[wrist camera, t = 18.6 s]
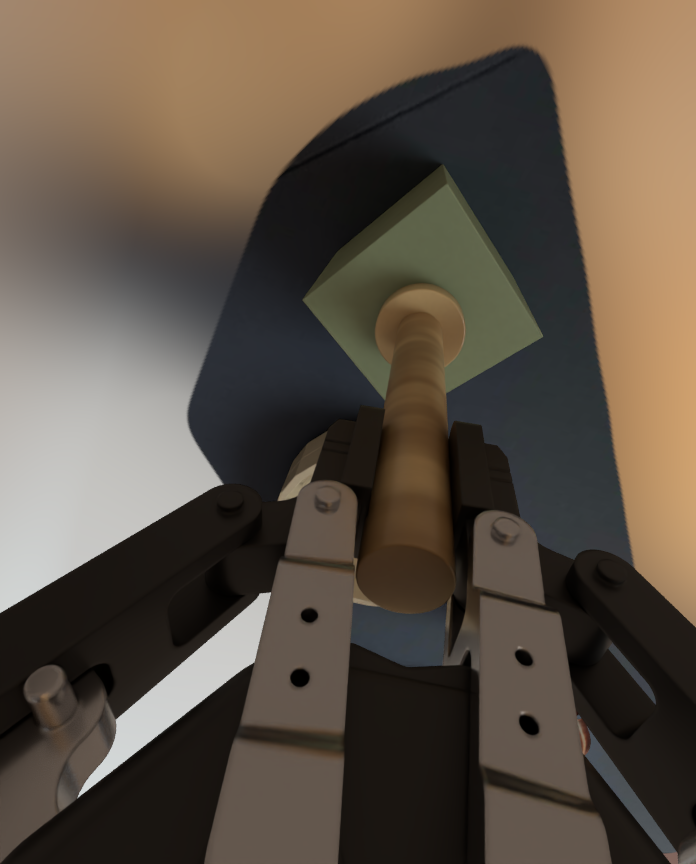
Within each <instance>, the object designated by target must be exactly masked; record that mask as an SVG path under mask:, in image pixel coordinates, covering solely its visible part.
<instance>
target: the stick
mask: <svg viewBox="0 0 696 864" xmlns="http://www.w3.org/2000/svg"><path fill="white" fill-rule="evenodd" d="M465 335H466V326H465V320H464V315H463V311H462V309H461V306H460V305H459V303H458V301H457V300H456V299H455V298H454V296H453V295H451V294H450V293H449V292H448V291H446V290H445V289H443V288H441V287H439V286H436V285H433V284H427V283H417V284H411V285H408V286H405V287H402V288H400V289H398V290H397V291H395V292H394V293H393V294H392V295H390V296H389V297H388V298H387V300H386V301H385V302H384V304H383V305H382V307H381V309H380V311H379V314H378V317H377V321H376V325H375V340H376V344H377V347H378V349H379V351H380V353H381V355H382V356H383V358H384V359H385V360H386V361H387V362H388V363H389V364H390V365H391V369H390V375H389V381H388V387H387V393H386V398H385V404H384V409H385V415H384V421H383V427H382V433H381V439H380V445H379V451H378V457H377V463H376V469H375V476H374V482H373V488H372V493H371V499H370V505H369V511H368V516H367V517H366V519H365V522H364V526H363V531H362V537H361V543H360V548H359V554H358V560H357V566H356V573H355V576H356V581H357V584H358V587H359V589H360V590H361V592H362V593H363V594H364V595H365V596H366V597H367V598H368V599H369V600H370V601H371V602H373V603H374V604H376V605H378V606H380V607H382V608H384V609H387V610H390V611H393V612H398V613H407V614H415V613H423V612H428V611H431V610H434V609H436V608H438V607H440V606H442V605H443V604H444V603H446V602H447V601H448V600H449V599H450V598H451V596H452V594H453V593H454V590H455V587H456V565H455V547H454V532H453V515H452V496H451V478H450V460H449V442H448V422H447V404H446V386H445V368H444V367H446V366H447V365H448V364H450V363H451V362H452V361H453V360H454V359H455V358H456V357H457V355H458V354H459V352H460V351H461V348H462V346H463V344H464V340H465Z"/></svg>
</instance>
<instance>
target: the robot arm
mask: <svg viewBox="0 0 696 864" xmlns="http://www.w3.org/2000/svg"><path fill="white" fill-rule="evenodd" d="M384 415H385V409H382V408H376V407H370V406H364V405H360V409H359V413H358V417H357V420H356V422H355V421H349V420H343V419H339V420H337V421H336V422H335V423H334V424H333V425H331V426H330V427H329V428H328V431H327V434H326V437H325V441H324V443H323V446H322V450H321V452H320V455H319V458H318V461H317V464H316V467H315V470H314V473H313V476H312V479H311V482H310V483H309V484H307V485H305V486H304V487H303V488H302V489H301V490H300V491H299V493H298V496H296V497H294V498H291V499H288V500H282V501H269V502H262V499H261V497H260V495H259V494H258V493H257V492H256V491H255V490H254V489H252V488H250V487H248V486H245V485H241V484H225V485H220V486H217V487H214V488H212V489H210V490H209V491H207V492H205V493H203V494H202V495H200V496H198V497H197V498H195V499H193V500H191V501H190V502H188V503H186V504H185V505H183V506H181V507H180V508H178V509H176V510H175V511H173V512H171V513H169V514H168V515H166V516H164V517H163V518H161V519H159V520H158V521H156V522H154V523H152V524H151V525H149V526H147V527H146V528H144V529H142V530H141V531H139V532H137V533H136V534H134V535H132V536H130V537H129V538H127V539H125V540H124V541H122V542H120V543H118V544H117V545H115V546H113V547H112V548H110V549H108V550H107V551H105V552H103V553H102V554H100V555H98V556H96V557H95V558H93V559H91V560H90V561H88V562H86V563H85V564H83V565H81V566H79V567H78V568H76V569H74V570H73V571H71V572H69V573H68V574H66V575H64V576H63V577H61V578H59V579H57V580H56V581H54V582H52V583H51V584H49V585H47V586H45V587H44V588H42V589H40V590H39V591H37V592H36V593H34V594H32V595H30V596H28V597H27V598H25V599H24V600H22V601H20V602H18V603H17V604H15V605H13V606H12V607H10V608H8V609H7V610H5V611H3V612H1V613H0V864H671V863H670V862H669V861H668V860H667V858H666V857H665V856H664V855H663V853H662V852H661V851H660V849H659V848H658V847H657V846H656V844H655V843H654V842H653V841H652V839H651V838H650V837H649V836H648V834H647V833H646V832H645V831H644V829H643V828H642V827H641V826H640V824H639V823H638V822H637V821H636V819H635V818H634V817H633V816H632V814H631V813H630V812H629V811H628V809H627V808H626V807H625V806H624V804H623V803H622V802H621V801H620V799H619V798H618V797H617V796H616V794H615V793H614V792H613V790H612V789H611V788H610V787H609V785H608V784H607V783H606V782H605V780H604V779H603V778H602V777H601V775H600V774H599V773H598V772H597V770H596V769H595V768H594V767H593V765H592V764H591V763H590V762H589V760H588V759H587V758H586V757H585V755H584V754H583V753H582V746H581V740H580V734H579V727H578V721H577V715H576V711H577V712H578V714H579V715H580V717H581V718H582V719H583V721H584V722H585V724H586V725H587V726H588V728H589V729H590V731H591V732H592V733H593V735H594V736H595V738H596V739H597V740H598V742H599V743H600V745H601V746H602V747H603V749H604V750H605V752H606V753H607V754H608V756H609V757H610V759H611V760H612V761H613V763H614V764H615V766H616V767H617V768H618V770H619V771H620V773H621V774H622V775H623V777H624V778H625V780H626V781H627V782H628V784H629V785H630V787H631V788H632V789H633V791H634V792H635V794H636V795H637V796H638V798H639V799H640V801H641V802H642V803H643V805H644V806H645V808H646V809H647V810H648V812H649V813H650V815H651V816H652V817H653V819H654V820H655V822H656V823H657V825H658V826H659V827H660V829H661V830H662V832H663V833H664V834H665V836H666V837H667V839H668V840H669V841H670V843H671V844H672V846H673V847H674V848H675V850H676V851H677V853H678V864H696V627H695V626H693V624H691V623H690V622H689V621H688V620H687V619H686V618H685V617H684V616H683V615H682V614H681V613H680V612H679V611H678V610H677V609H676V608H675V607H674V606H673V605H672V604H670V602H669V601H667V600H666V599H665V598H664V597H663V596H662V595H661V594H660V593H659V592H658V591H657V590H656V589H655V588H654V587H653V586H652V585H651V584H650V583H649V582H648V581H647V580H646V579H645V578H644V577H643V576H642V575H641V574H639V573H638V572H637V571H636V570H635V569H634V568H633V567H632V566H631V565H630V564H629V563H627V562H626V561H624V560H623V559H621V558H619V557H618V556H615V555H613V554H611V553H608V552H605V551H601V550H585V551H582V552H581V553H579V554H578V555H577V556H576V558H575V560H573V559H571V558H568V557H566V556H563V555H561V554H559V553H556V552H554V551H552V550H550V549H547V548H546V547H544V546H542V545H541V544H539V543H538V542H537V538H536V534H535V532H534V530H533V529H532V528H531V526H530V525H529V524H528V523H527V522H525V521H524V520H523V519H521V518H520V514H519V509H518V505H517V500H516V495H515V491H514V486H513V483H512V477H511V473H510V468H509V463H508V459H507V457H506V456H505V454H504V453H503V452H502V451H501V450H500V448H499V447H498V446H497V445H491V444H485V443H484V438H483V431H482V426H481V425H477V424H471V423H465V422H459V421H454V423H453V425H452V428H451V432H450V436H449V440H448V442H449V460H450V478H451V496H452V515H453V532H454V547H455V565H456V587H455V590H454V593H453V594H452V596H451V598H450V599H449V600H448V601H447V614H446V627H445V641H444V654H443V666H427V667H405V666H402V665H400V664H397V663H395V662H393V661H391V660H389V659H387V658H385V657H382V656H380V655H378V654H376V653H374V652H372V651H369V650H367V649H365V648H363V647H361V646H359V645H356V644H353V643H350V639H351V624H352V608H353V593H354V578H355V565H353V563H354V558H357V559H358V554H359V548H360V543H361V537H362V531H363V526H364V522H365V519H366V517H367V516H368V511H369V505H370V499H371V493H372V488H373V482H374V476H375V469H376V463H377V457H378V451H379V445H380V439H381V433H382V427H383V421H384ZM269 592H271V596H270V600H269V605H268V608H267V613H266V617H265V621H264V625H263V630H262V634H261V638H260V642H259V646H258V651H257V655H256V659H255V663H253V664H251V665H249V666H248V667H246V668H244V669H243V670H242V671H240V672H239V673H238V674H236V675H235V676H234V677H232V678H231V679H230V680H228V681H227V682H226V683H225V684H223V685H222V686H221V687H220V688H218V689H217V690H216V691H215V692H213V693H212V694H210V695H209V696H208V697H207V698H205V699H204V700H203V701H202V702H200V703H199V704H198V705H196V706H195V707H194V708H193V709H191V710H190V711H189V712H187V713H186V714H185V715H184V716H182V717H181V718H180V719H178V720H177V721H176V722H175V723H173V724H172V725H171V726H170V727H168V728H167V729H166V730H164V731H163V732H162V733H161V734H159V735H158V736H157V737H155V738H154V739H153V740H152V741H151V742H149V743H148V744H147V745H145V746H144V747H143V748H141V749H140V750H139V751H137V752H136V753H135V754H134V755H132V756H131V757H130V758H129V759H127V760H126V761H125V762H123V764H121V765H120V766H118V767H117V768H116V769H114V770H113V771H112V772H111V773H110V774H108V775H107V776H106V777H104V778H103V779H102V780H100V781H99V782H98V783H96V784H95V785H94V786H93V787H91V788H90V789H89V790H88V791H86V792H85V793H84V794H82V795H81V796H80V797H79V798H77V797H78V795H79V792H80V791H81V789H82V787H83V785H84V783H85V782H86V780H87V779H88V777H89V776H90V775H91V774H92V773H93V772H94V770H95V769H96V768H97V767H98V766H99V765H100V764H101V763H102V762H103V760H104V759H105V757H106V756H107V754H108V753H109V751H110V749H111V747H112V745H113V742H114V739H115V734H116V719H117V718H118V717H119V716H120V715H122V714H123V713H124V712H125V711H126V710H128V709H129V708H130V707H131V706H132V705H133V704H135V703H136V702H137V701H138V700H139V699H140V698H141V697H143V696H144V695H145V694H146V693H147V692H148V691H150V690H151V689H152V688H153V687H154V686H155V685H157V683H159V682H160V681H161V680H163V679H164V678H165V677H166V676H167V675H168V674H170V673H171V672H172V671H173V670H174V669H175V668H177V667H178V666H179V665H180V664H181V663H182V662H183V661H185V660H186V659H187V658H188V657H189V656H190V655H192V654H193V653H194V652H195V651H196V650H197V649H199V648H200V647H201V646H202V645H203V644H204V643H206V642H207V641H208V640H209V639H210V638H212V637H213V636H214V635H215V634H216V633H217V632H218V631H219V630H221V629H222V628H223V627H224V626H226V625H227V624H228V623H229V622H230V621H231V620H233V619H234V618H235V617H236V616H237V615H238V614H240V613H241V612H242V611H243V610H244V609H245V608H247V607H248V606H249V605H250V604H251V603H252V602H253V601H254V600H255V599H256V598H257V597H258V596H259V594H260V593H269ZM612 642H613V643H614V645H615V646H616V647H617V648H618V649H619V650H620V652H621V653H622V654H623V655H624V656H625V657H626V659H627V660H628V661H629V662H630V663H631V664H632V665H633V667H634V668H635V669H636V670H637V671H638V672H639V674H640V675H641V676H642V677H643V678H644V679H645V681H646V682H647V683H648V684H649V686H650V687H651V689H652V691H653V693H654V696H655V699H656V705H655V704H654V703H653V701H652V700H651V699H650V698H649V697H648V696H647V694H646V693H645V692H644V691H643V690H642V688H641V687H640V686H639V685H638V684H637V683H636V681H635V680H634V679H633V678H632V677H631V675H630V674H629V673H628V672H627V671H626V670H625V668H624V667H623V666H622V665H621V664H620V662H619V661H618V660H617V659H616V658H615V657H614V655H613V654H612V653H611V652H610V651H609V649H608V648H609V646H610V645H611V643H612Z"/></svg>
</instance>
